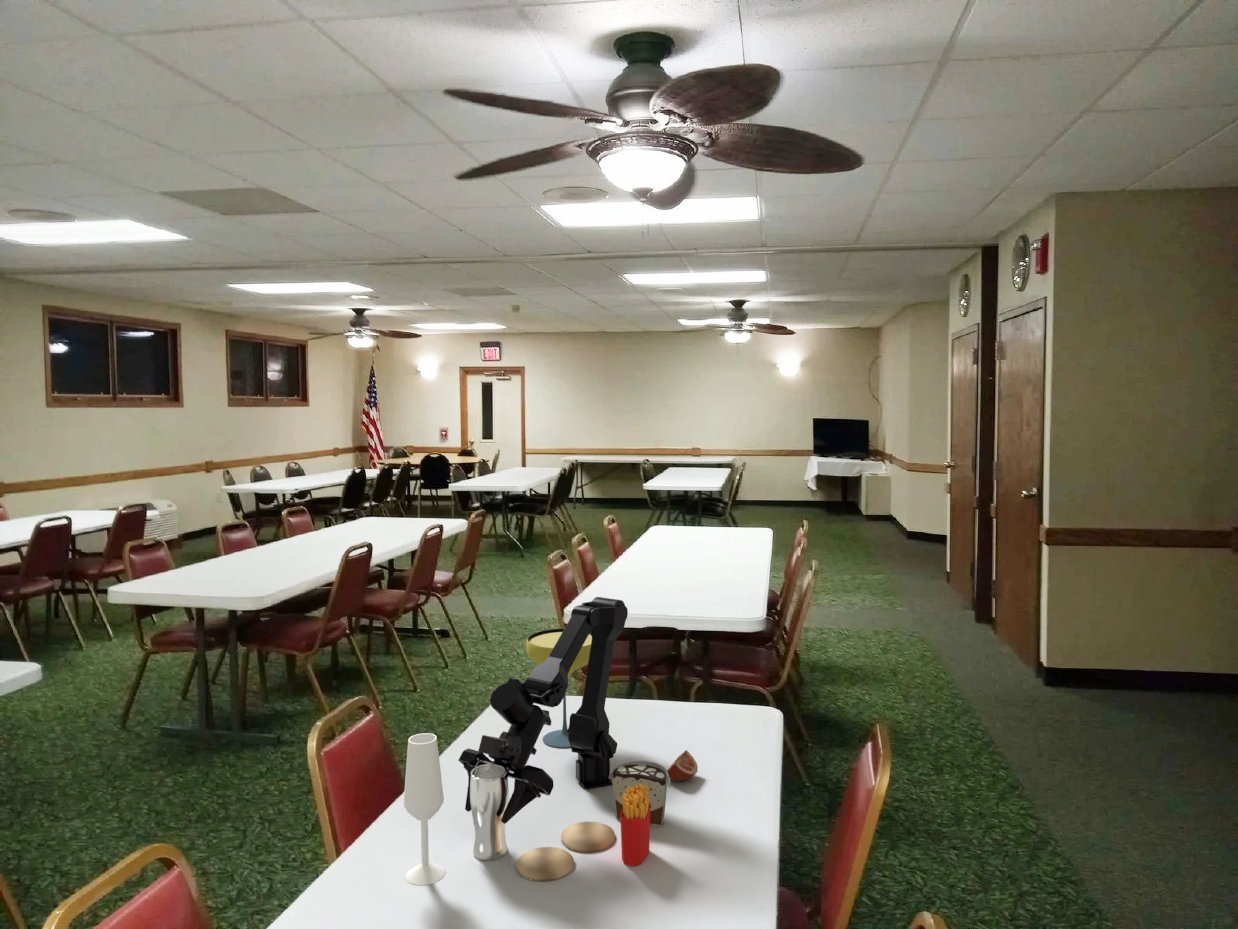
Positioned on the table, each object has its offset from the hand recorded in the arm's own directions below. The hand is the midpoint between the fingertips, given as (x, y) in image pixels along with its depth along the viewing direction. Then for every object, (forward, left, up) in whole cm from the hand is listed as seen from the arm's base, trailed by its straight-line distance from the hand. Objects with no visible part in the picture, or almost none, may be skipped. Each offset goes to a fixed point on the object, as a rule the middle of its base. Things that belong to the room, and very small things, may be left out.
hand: (484, 816), depth 148 cm
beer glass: (-1, -1, -7) cm, 7 cm away
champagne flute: (+11, +2, -7) cm, 13 cm away
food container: (-32, -3, -7) cm, 33 cm away
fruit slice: (-46, -15, -7) cm, 49 cm away
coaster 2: (-19, +1, -7) cm, 20 cm away
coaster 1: (-9, +7, -7) cm, 14 cm away
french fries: (-25, +10, -7) cm, 28 cm away
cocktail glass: (-29, -45, -7) cm, 54 cm away
